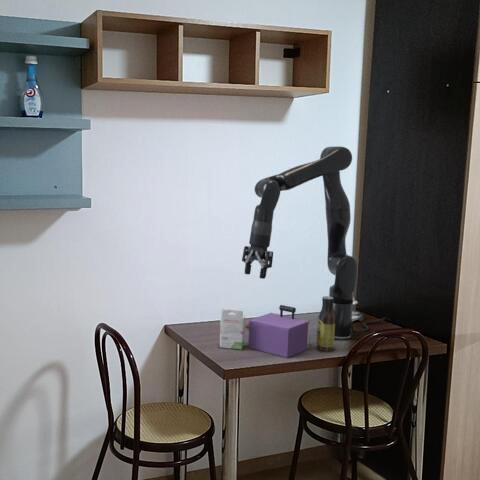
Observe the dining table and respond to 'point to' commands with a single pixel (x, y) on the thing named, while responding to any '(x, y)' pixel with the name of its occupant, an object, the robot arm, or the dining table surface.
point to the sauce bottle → (326, 325)
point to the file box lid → (280, 319)
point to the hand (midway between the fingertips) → (254, 276)
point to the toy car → (356, 313)
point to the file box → (278, 339)
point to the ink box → (232, 329)
